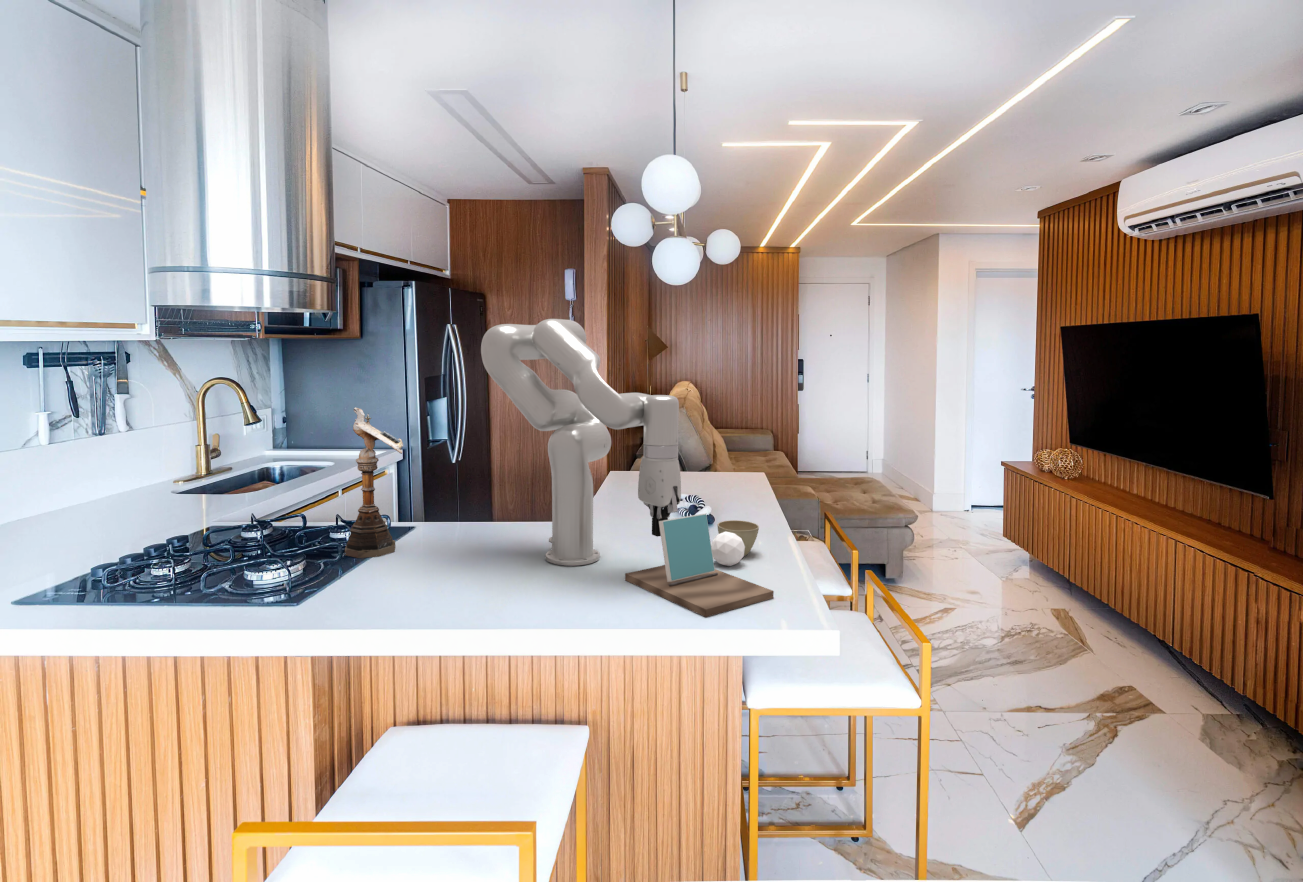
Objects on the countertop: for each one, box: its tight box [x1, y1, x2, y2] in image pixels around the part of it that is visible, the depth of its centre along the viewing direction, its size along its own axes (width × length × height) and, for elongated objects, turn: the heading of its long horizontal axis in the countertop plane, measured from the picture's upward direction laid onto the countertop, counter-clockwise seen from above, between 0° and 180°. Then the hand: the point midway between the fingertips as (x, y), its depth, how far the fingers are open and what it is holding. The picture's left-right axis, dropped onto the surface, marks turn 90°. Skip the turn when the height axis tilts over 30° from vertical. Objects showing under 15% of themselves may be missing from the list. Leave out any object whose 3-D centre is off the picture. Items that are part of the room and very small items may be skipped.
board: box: [624, 564, 775, 618], centre depth 150 cm, size 26×18×2 cm
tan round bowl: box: [717, 519, 760, 557], centre depth 175 cm, size 10×10×7 cm
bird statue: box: [344, 407, 404, 559], centre depth 173 cm, size 17×13×35 cm
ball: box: [711, 531, 745, 567], centre depth 167 cm, size 8×8×8 cm
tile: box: [659, 513, 716, 582], centre depth 151 cm, size 12×12×1 cm
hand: (659, 534), depth 159 cm, fingers closed
